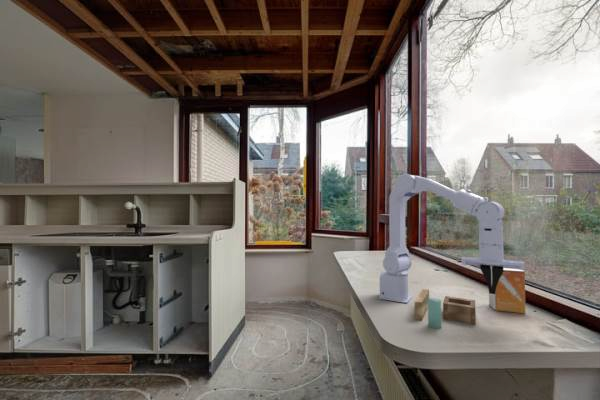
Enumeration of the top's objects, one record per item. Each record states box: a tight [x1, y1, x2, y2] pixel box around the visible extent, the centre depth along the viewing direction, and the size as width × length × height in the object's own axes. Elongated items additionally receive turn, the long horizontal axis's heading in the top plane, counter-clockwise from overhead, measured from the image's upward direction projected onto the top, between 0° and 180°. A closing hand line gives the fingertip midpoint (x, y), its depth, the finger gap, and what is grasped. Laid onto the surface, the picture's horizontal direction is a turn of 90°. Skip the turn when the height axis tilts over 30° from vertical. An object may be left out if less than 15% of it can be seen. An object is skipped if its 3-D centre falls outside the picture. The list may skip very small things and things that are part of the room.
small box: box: [488, 267, 526, 314], centre depth 91 cm, size 8×6×13 cm
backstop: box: [414, 288, 430, 321], centre depth 88 cm, size 2×15×5 cm, turn 149°
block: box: [442, 295, 477, 325], centre depth 83 cm, size 8×8×4 cm
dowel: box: [427, 297, 442, 329], centre depth 77 cm, size 3×3×7 cm
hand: (492, 292), depth 79 cm, fingers closed
